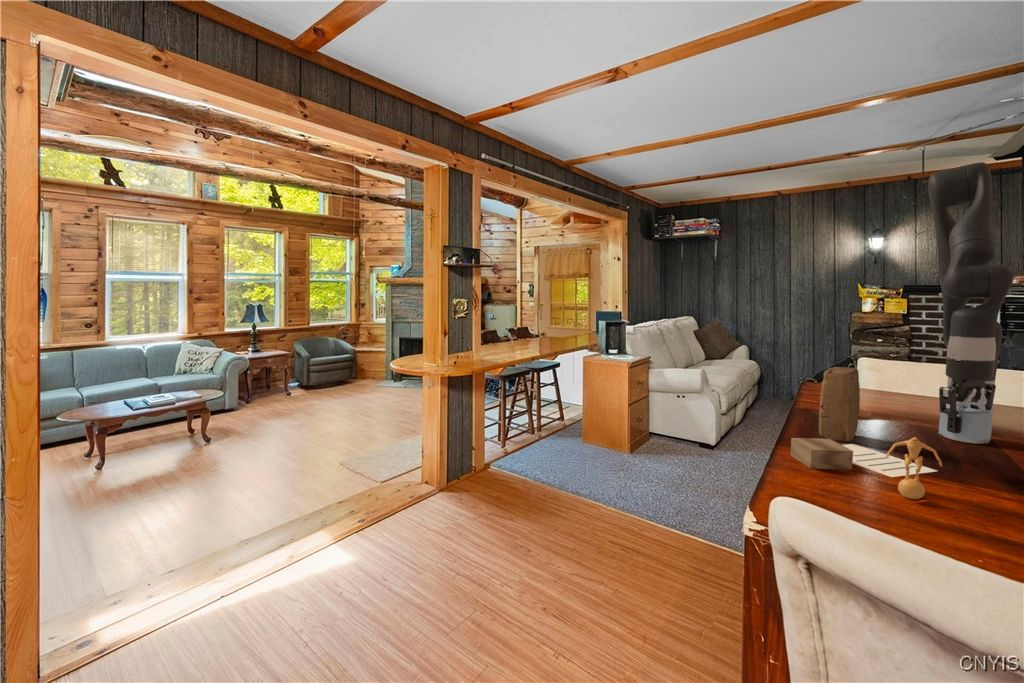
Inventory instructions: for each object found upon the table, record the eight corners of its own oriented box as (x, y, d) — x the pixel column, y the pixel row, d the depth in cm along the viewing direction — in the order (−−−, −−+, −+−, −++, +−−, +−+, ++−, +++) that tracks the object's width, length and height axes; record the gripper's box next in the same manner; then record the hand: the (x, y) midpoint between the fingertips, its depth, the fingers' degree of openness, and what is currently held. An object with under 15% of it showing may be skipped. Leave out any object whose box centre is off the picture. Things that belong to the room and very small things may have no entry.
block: (846, 444, 122) (851, 371, 120) (814, 437, 128) (819, 368, 126) (860, 437, 129) (866, 367, 127) (830, 431, 135) (834, 364, 133)
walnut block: (828, 458, 113) (829, 438, 112) (851, 472, 104) (853, 450, 103) (790, 457, 114) (791, 437, 113) (810, 470, 105) (811, 449, 104)
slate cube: (957, 431, 106) (959, 405, 105) (990, 438, 100) (992, 412, 99) (938, 433, 104) (940, 408, 103) (970, 441, 98) (973, 414, 98)
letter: (852, 444, 122) (853, 443, 122) (938, 472, 103) (938, 470, 103) (810, 449, 119) (811, 447, 119) (891, 478, 100) (891, 476, 100)
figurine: (883, 496, 91) (887, 437, 90) (883, 486, 95) (888, 430, 94) (939, 508, 85) (945, 446, 84) (937, 497, 90) (943, 438, 89)
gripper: (972, 352, 106) (966, 423, 107) (927, 356, 102) (921, 429, 104) (1015, 357, 98) (1008, 432, 100) (968, 361, 95) (961, 439, 96)
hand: (964, 430), depth 102 cm, fingers closed on slate cube, 6 cm apart
